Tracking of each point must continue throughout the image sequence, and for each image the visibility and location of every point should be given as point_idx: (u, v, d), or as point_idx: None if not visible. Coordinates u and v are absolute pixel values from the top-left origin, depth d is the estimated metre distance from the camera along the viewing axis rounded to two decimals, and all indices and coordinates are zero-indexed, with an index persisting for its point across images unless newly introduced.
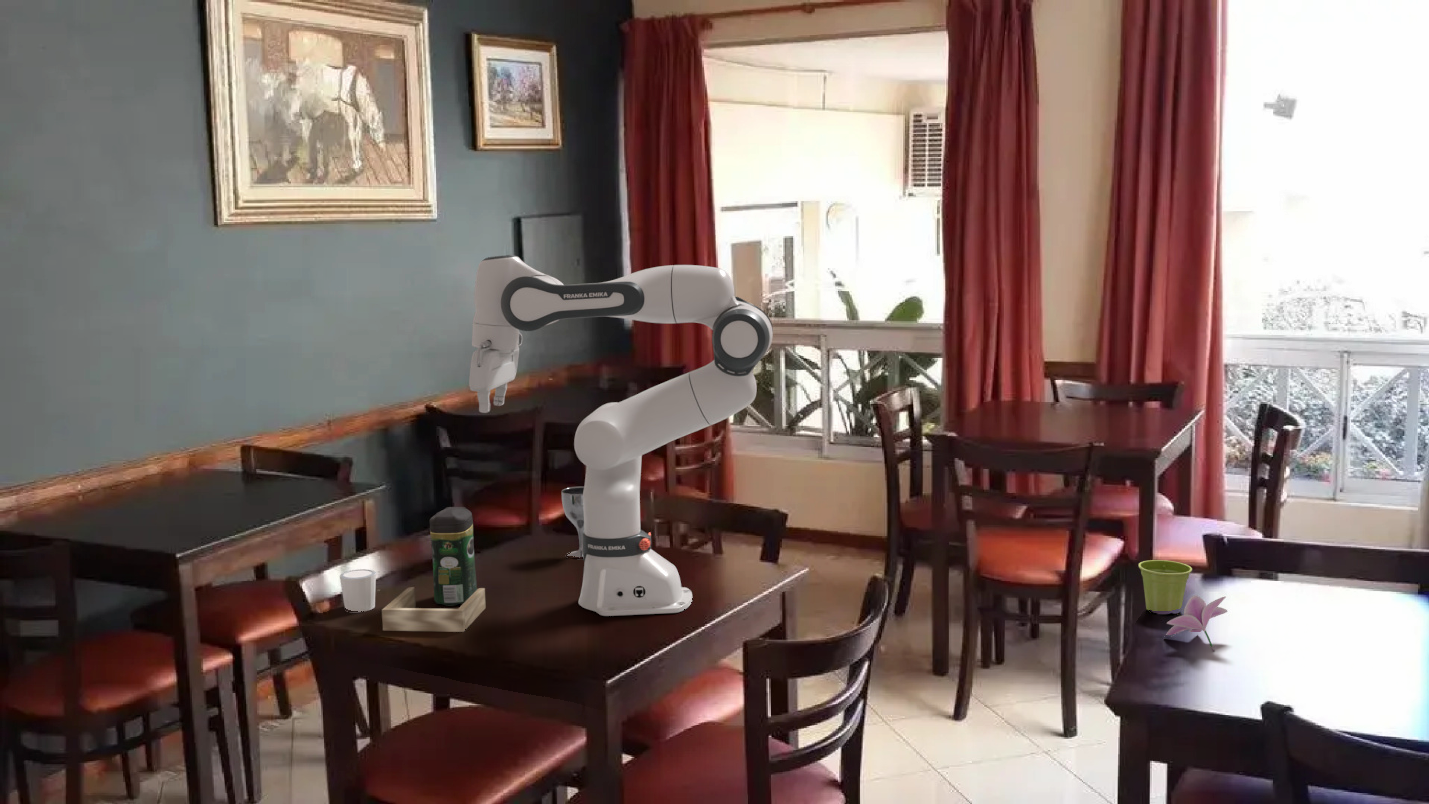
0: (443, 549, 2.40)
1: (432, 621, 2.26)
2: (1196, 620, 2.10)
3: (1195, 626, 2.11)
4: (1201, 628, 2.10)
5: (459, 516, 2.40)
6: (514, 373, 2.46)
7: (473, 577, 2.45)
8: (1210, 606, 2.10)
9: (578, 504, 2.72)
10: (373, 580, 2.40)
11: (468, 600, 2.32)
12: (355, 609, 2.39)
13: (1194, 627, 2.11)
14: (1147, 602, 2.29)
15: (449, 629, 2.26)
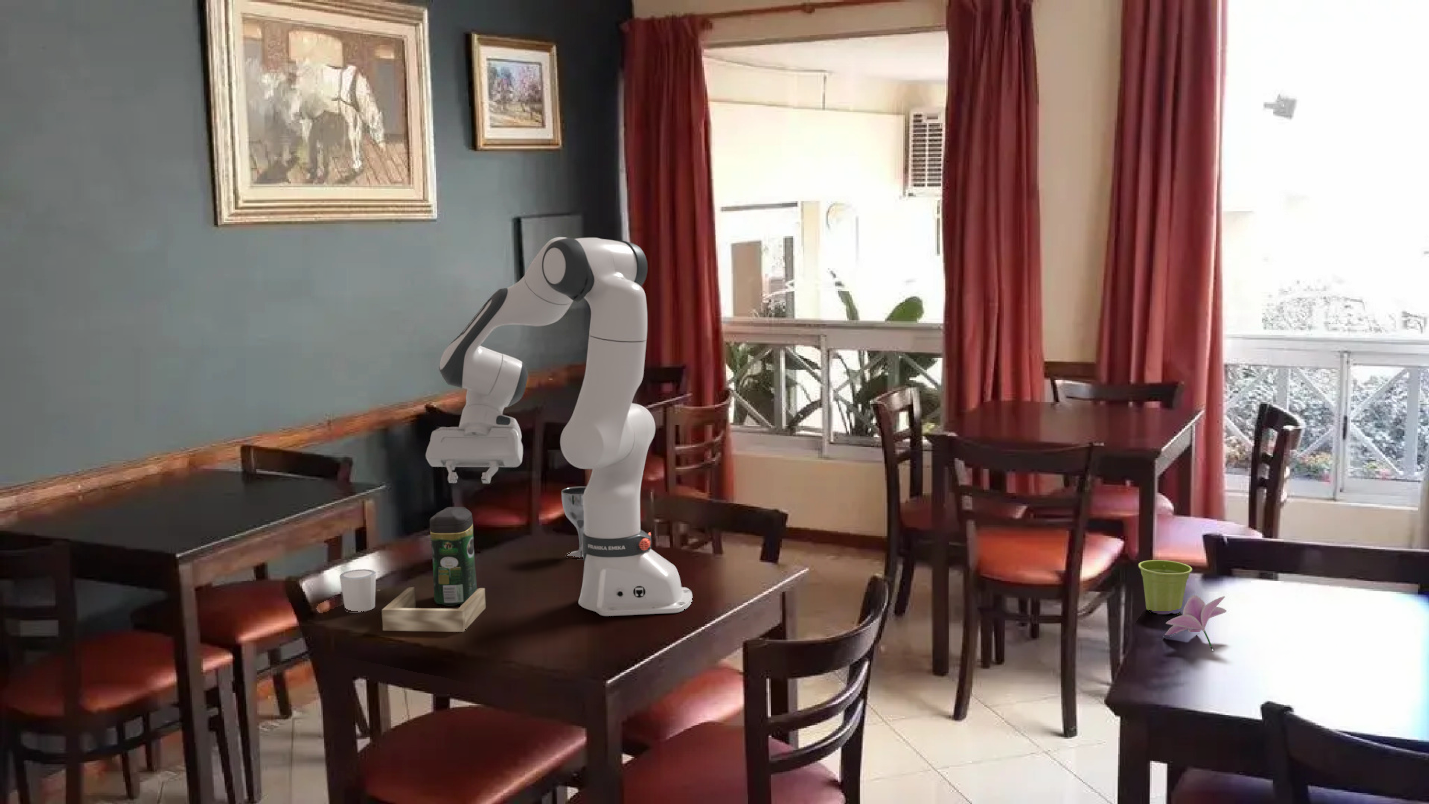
0: (443, 549, 2.40)
1: (432, 621, 2.26)
2: (1195, 620, 2.10)
3: (1194, 626, 2.11)
4: (1200, 628, 2.10)
5: (459, 516, 2.40)
6: (511, 452, 2.56)
7: (473, 577, 2.45)
8: (1209, 605, 2.10)
9: (578, 504, 2.72)
10: (373, 580, 2.40)
11: (468, 600, 2.32)
12: (355, 609, 2.39)
13: (1193, 627, 2.11)
14: (1147, 602, 2.29)
15: (449, 629, 2.26)
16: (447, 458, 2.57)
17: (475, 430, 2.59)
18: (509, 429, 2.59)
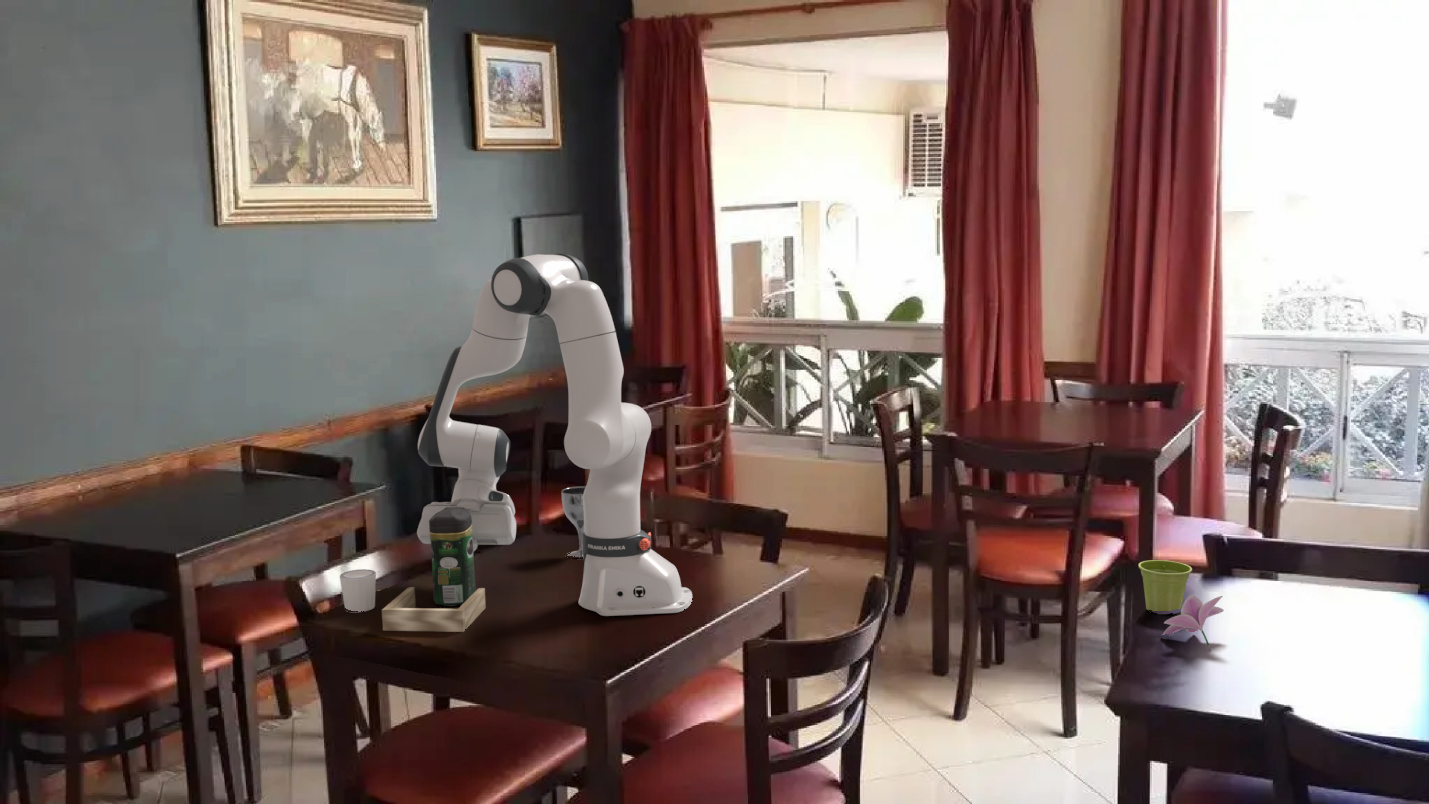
0: (443, 549, 2.40)
1: (432, 621, 2.26)
2: (1193, 619, 2.10)
3: (1192, 626, 2.11)
4: (1198, 627, 2.10)
5: (459, 517, 2.40)
6: (503, 530, 2.50)
7: (472, 577, 2.45)
8: (1207, 605, 2.10)
9: (578, 504, 2.72)
10: (373, 580, 2.40)
11: (468, 600, 2.32)
12: (355, 609, 2.39)
13: (1191, 626, 2.11)
14: (1147, 602, 2.29)
15: (449, 629, 2.26)
16: None
17: (467, 507, 2.53)
18: (502, 505, 2.53)
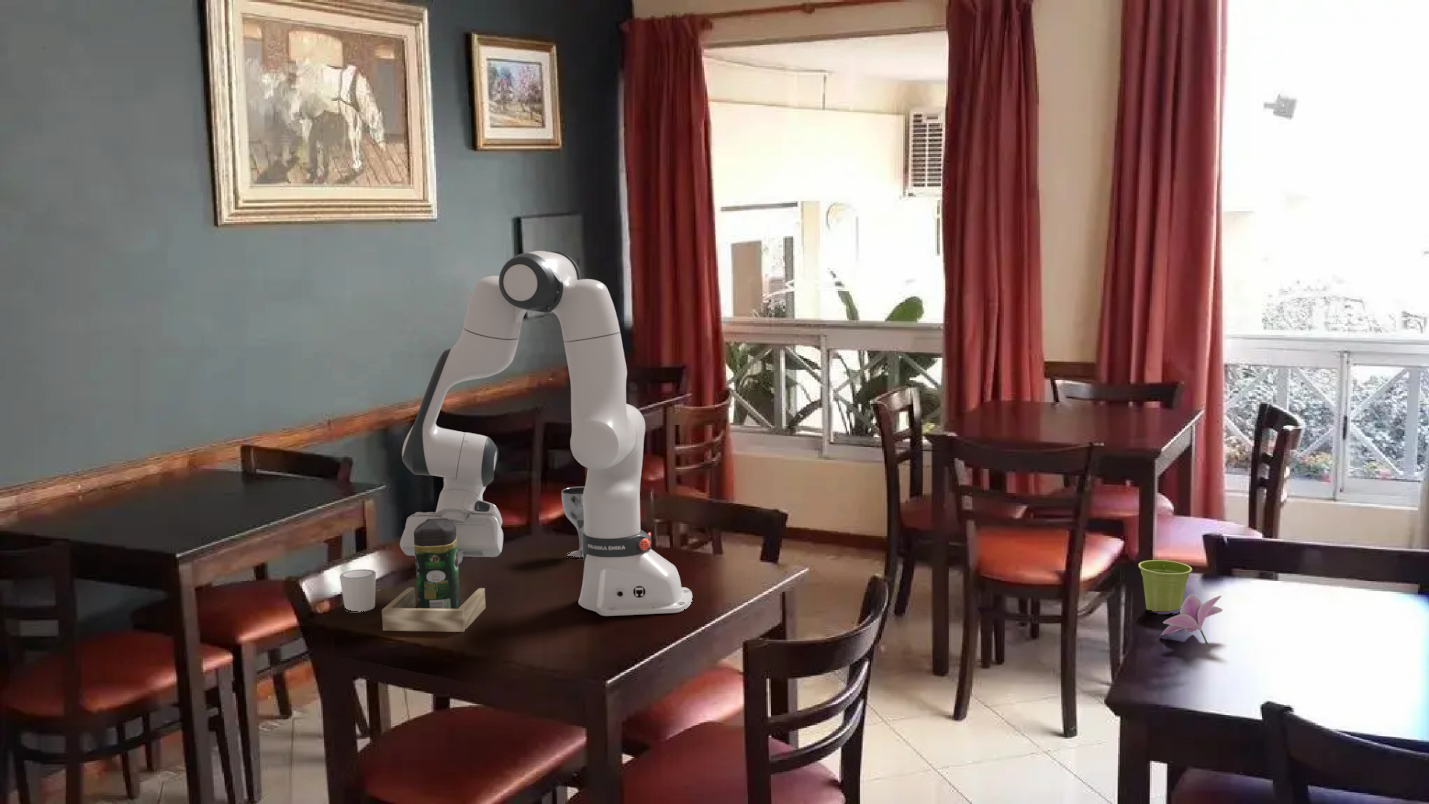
0: (430, 562, 2.31)
1: (432, 621, 2.26)
2: (1192, 619, 2.10)
3: (1191, 625, 2.11)
4: (1197, 627, 2.11)
5: (446, 528, 2.31)
6: (490, 542, 2.41)
7: (458, 590, 2.36)
8: (1206, 605, 2.10)
9: (578, 504, 2.72)
10: (373, 580, 2.40)
11: (468, 600, 2.32)
12: (355, 609, 2.39)
13: (1190, 626, 2.11)
14: (1147, 602, 2.29)
15: (449, 629, 2.26)
16: None
17: (452, 517, 2.44)
18: (488, 516, 2.44)
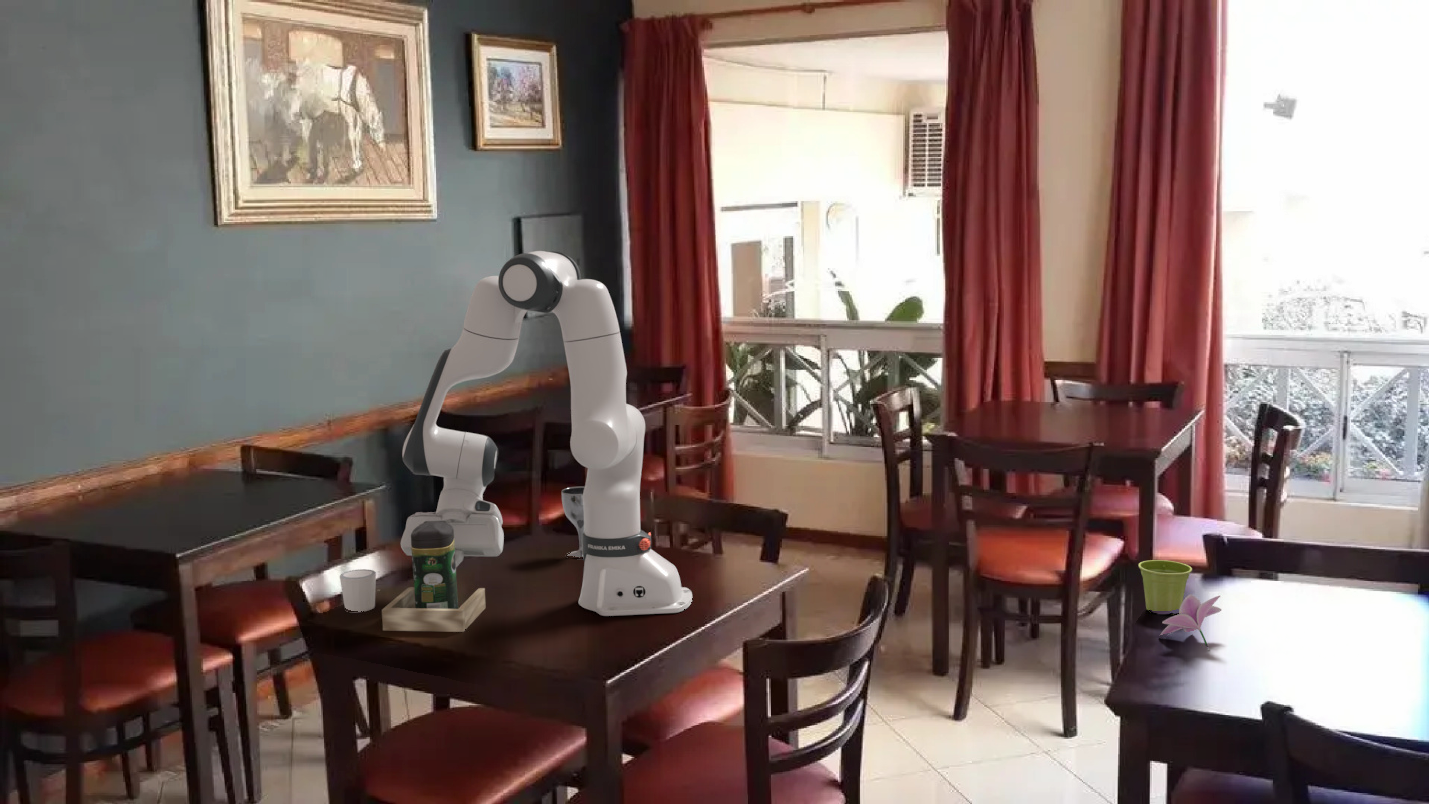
0: (427, 565, 2.29)
1: (432, 621, 2.26)
2: (1191, 619, 2.10)
3: (1190, 625, 2.11)
4: (1196, 627, 2.11)
5: (443, 530, 2.30)
6: (491, 541, 2.41)
7: (456, 593, 2.34)
8: (1205, 605, 2.10)
9: (578, 504, 2.72)
10: (373, 580, 2.40)
11: (468, 600, 2.32)
12: (355, 609, 2.39)
13: (1189, 626, 2.11)
14: (1147, 602, 2.29)
15: (449, 629, 2.26)
16: None
17: (453, 517, 2.44)
18: (489, 516, 2.44)
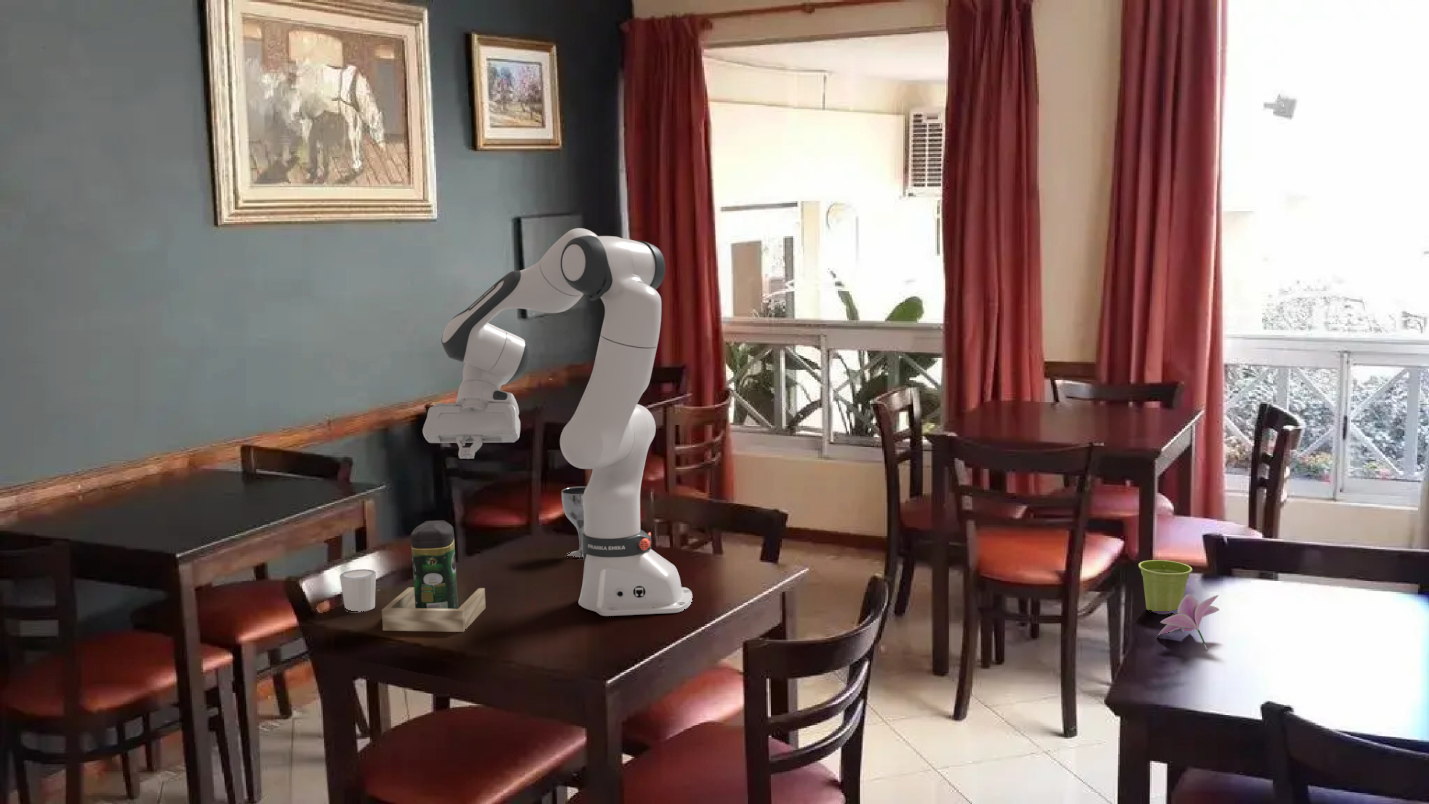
0: (427, 565, 2.29)
1: (432, 621, 2.26)
2: (1189, 619, 2.11)
3: (1188, 625, 2.11)
4: (1194, 627, 2.11)
5: (443, 530, 2.30)
6: (508, 427, 2.54)
7: (456, 593, 2.34)
8: (1203, 604, 2.10)
9: (578, 504, 2.72)
10: (373, 580, 2.40)
11: (468, 600, 2.32)
12: (355, 609, 2.39)
13: (1187, 626, 2.11)
14: (1147, 602, 2.29)
15: (449, 629, 2.26)
16: (444, 434, 2.55)
17: (472, 405, 2.57)
18: (506, 404, 2.57)
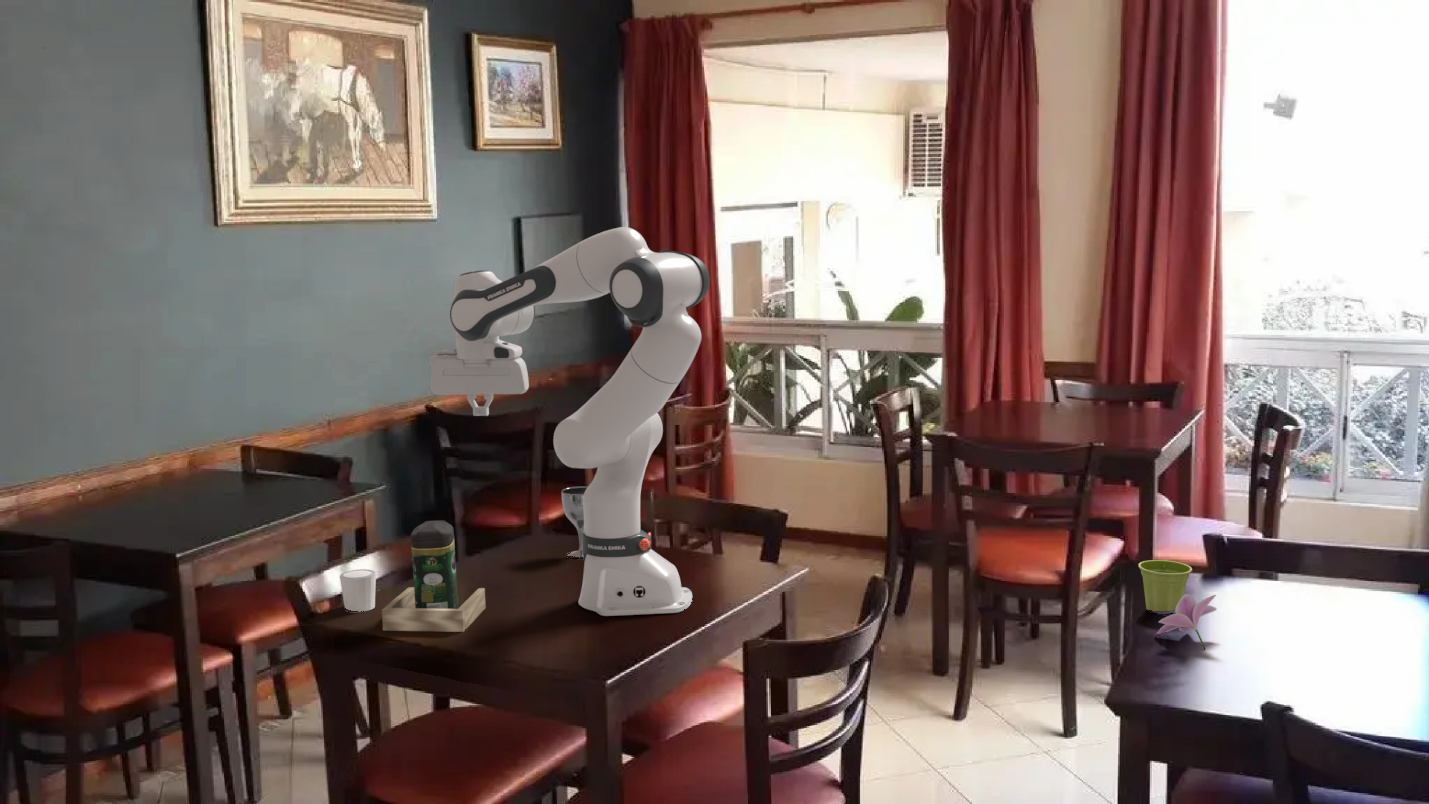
0: (427, 565, 2.29)
1: (432, 621, 2.26)
2: (1187, 618, 2.11)
3: (1186, 624, 2.11)
4: (1192, 626, 2.11)
5: (443, 530, 2.30)
6: (517, 387, 2.52)
7: (456, 593, 2.34)
8: (1200, 604, 2.11)
9: (578, 504, 2.72)
10: (373, 580, 2.40)
11: (468, 600, 2.32)
12: (355, 609, 2.39)
13: (1185, 625, 2.12)
14: (1147, 602, 2.29)
15: (449, 629, 2.26)
16: None
17: (475, 365, 2.51)
18: (510, 361, 2.50)
